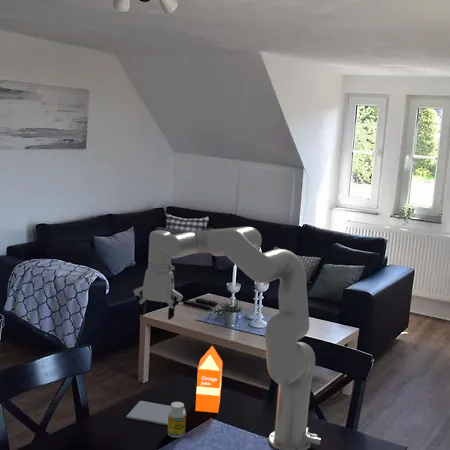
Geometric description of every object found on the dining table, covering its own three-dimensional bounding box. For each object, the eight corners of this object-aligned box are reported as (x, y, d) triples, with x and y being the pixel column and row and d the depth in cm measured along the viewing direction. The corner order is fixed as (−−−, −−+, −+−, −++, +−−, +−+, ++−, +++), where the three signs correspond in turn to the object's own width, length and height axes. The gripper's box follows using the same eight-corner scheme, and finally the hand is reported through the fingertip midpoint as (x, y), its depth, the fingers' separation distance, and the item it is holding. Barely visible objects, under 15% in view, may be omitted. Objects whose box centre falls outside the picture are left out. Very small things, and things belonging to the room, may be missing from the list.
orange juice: (220, 401, 219) (224, 346, 215) (218, 412, 210) (222, 355, 207) (197, 399, 219) (201, 344, 216) (194, 410, 210) (198, 353, 207)
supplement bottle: (179, 428, 198) (181, 399, 196) (188, 435, 194) (189, 406, 192) (164, 431, 195) (165, 402, 193) (172, 439, 191) (174, 409, 189)
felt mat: (185, 410, 210) (185, 408, 210) (174, 426, 199) (174, 424, 199) (140, 402, 214) (140, 400, 214) (126, 417, 202) (126, 416, 202)
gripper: (187, 268, 214) (184, 316, 217) (139, 262, 218) (137, 310, 221) (180, 273, 207) (177, 323, 210) (130, 266, 211) (128, 316, 214)
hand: (156, 316), depth 215 cm, fingers open, 9 cm apart
